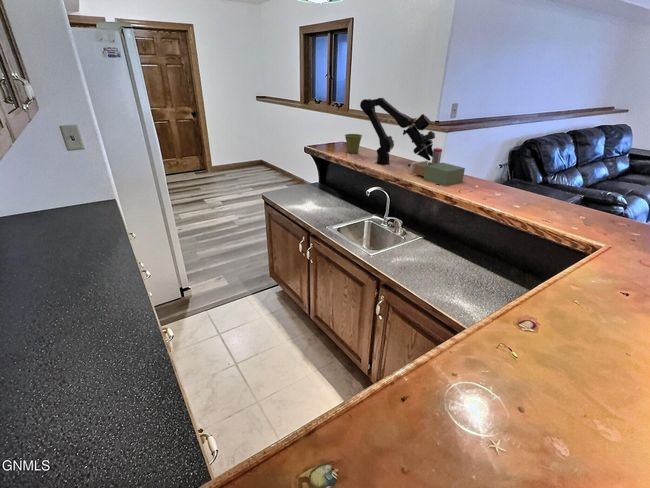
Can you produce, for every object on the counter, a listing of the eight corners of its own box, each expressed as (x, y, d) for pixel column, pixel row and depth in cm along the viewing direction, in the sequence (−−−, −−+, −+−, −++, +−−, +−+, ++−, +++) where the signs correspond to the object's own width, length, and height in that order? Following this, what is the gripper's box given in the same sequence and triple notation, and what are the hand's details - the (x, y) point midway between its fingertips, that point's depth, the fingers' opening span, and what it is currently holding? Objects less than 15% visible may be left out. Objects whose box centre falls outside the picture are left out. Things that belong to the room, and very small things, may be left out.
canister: (429, 171, 194) (433, 149, 189) (430, 169, 198) (433, 147, 193) (438, 172, 193) (442, 150, 188) (438, 170, 197) (442, 148, 192)
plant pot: (342, 150, 241) (343, 133, 236) (359, 150, 242) (360, 133, 237) (345, 154, 230) (346, 136, 225) (362, 154, 232) (364, 136, 227)
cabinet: (423, 179, 179) (425, 165, 176) (440, 175, 186) (442, 162, 183) (445, 185, 169) (447, 171, 166) (462, 182, 176) (465, 168, 173)
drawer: (403, 171, 189) (404, 161, 187) (418, 168, 196) (420, 159, 193) (427, 178, 177) (429, 168, 175) (443, 175, 183) (445, 165, 181)
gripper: (422, 128, 182) (440, 152, 182) (431, 124, 196) (448, 147, 196) (406, 142, 188) (423, 165, 189) (416, 137, 203) (431, 159, 203)
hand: (432, 158), depth 194 cm, fingers open, 9 cm apart
